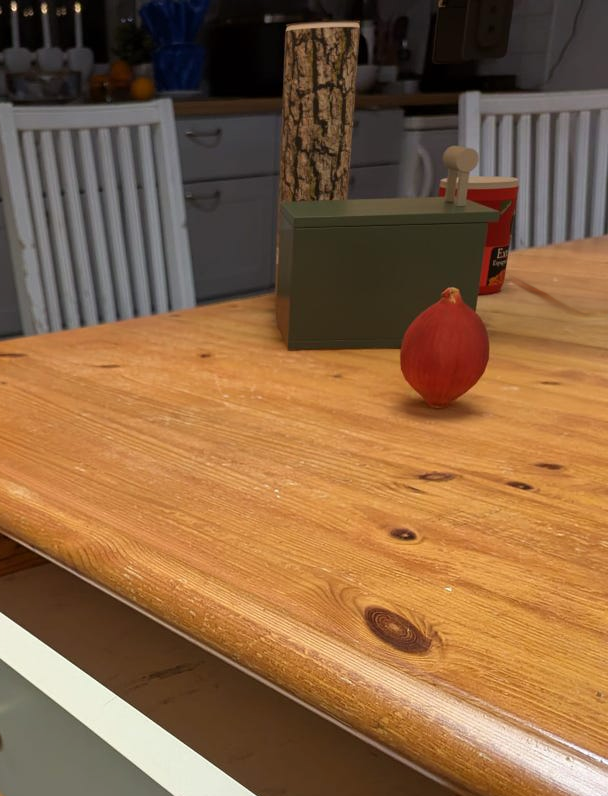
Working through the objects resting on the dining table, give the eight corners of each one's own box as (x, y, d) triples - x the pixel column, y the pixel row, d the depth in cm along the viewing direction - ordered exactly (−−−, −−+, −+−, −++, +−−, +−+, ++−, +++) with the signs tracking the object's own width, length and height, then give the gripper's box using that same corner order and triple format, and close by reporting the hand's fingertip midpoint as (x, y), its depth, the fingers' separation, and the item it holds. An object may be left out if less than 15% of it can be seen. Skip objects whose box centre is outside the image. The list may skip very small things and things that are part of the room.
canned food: (503, 296, 101) (520, 181, 96) (424, 294, 104) (437, 182, 98) (503, 284, 108) (519, 175, 102) (429, 282, 110) (441, 176, 105)
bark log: (333, 311, 97) (354, 19, 85) (267, 309, 99) (278, 23, 87) (344, 299, 103) (365, 23, 90) (282, 297, 105) (294, 27, 92)
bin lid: (458, 205, 89) (465, 142, 86) (498, 222, 77) (509, 149, 75) (280, 210, 90) (282, 149, 88) (293, 227, 78) (296, 156, 76)
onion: (396, 394, 70) (409, 278, 66) (480, 398, 68) (497, 279, 64) (392, 417, 65) (405, 293, 61) (481, 421, 63) (500, 295, 60)
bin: (435, 315, 94) (449, 206, 89) (471, 346, 82) (488, 223, 77) (275, 319, 95) (280, 211, 90) (287, 350, 83) (293, 228, 78)
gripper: (601, -264, 60) (551, 54, 69) (517, -191, 75) (484, 63, 84) (480, -257, 61) (444, 58, 69) (420, -186, 76) (397, 66, 84)
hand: (466, 60), depth 76 cm, fingers open, 9 cm apart
